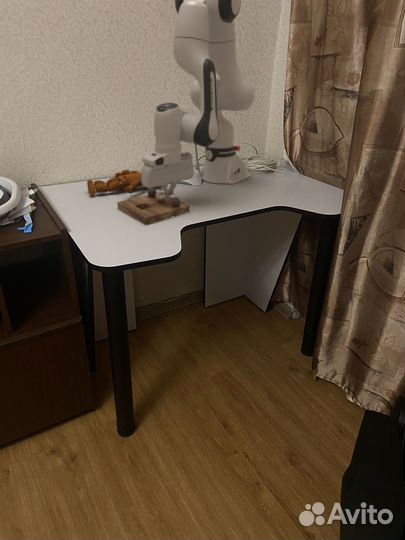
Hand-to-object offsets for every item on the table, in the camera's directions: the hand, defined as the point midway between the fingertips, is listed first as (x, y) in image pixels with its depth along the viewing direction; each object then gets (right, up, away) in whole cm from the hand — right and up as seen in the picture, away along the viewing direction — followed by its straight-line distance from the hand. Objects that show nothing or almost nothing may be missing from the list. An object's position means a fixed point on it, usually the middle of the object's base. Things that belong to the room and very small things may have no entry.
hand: (169, 194), depth 140 cm
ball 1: (-6, +2, +3) cm, 7 cm away
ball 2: (+3, -3, -5) cm, 7 cm away
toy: (-18, +5, +17) cm, 25 cm away
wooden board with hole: (-5, -6, -2) cm, 8 cm away
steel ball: (-3, -1, -2) cm, 3 cm away
